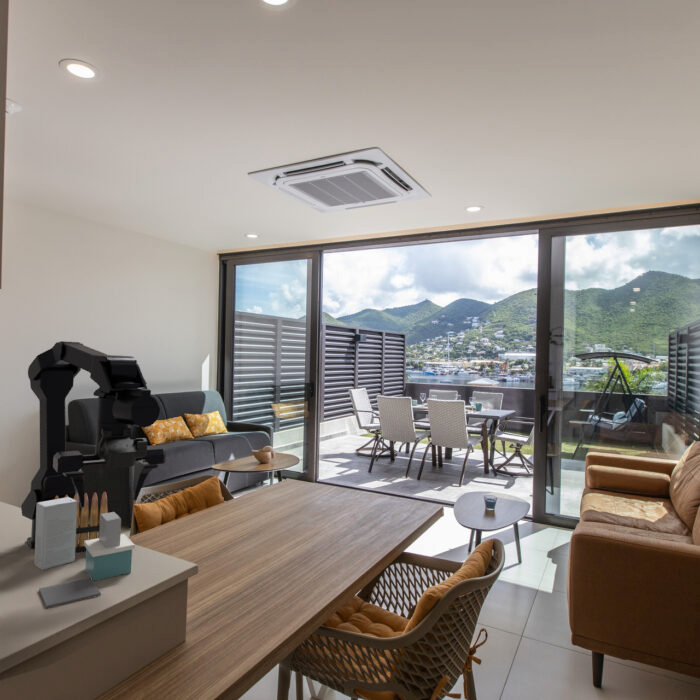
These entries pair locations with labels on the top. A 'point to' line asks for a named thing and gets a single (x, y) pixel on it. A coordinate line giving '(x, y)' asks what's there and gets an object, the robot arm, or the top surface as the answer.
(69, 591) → the mat
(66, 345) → the robot arm
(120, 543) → the lid
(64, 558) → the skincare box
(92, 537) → the ammunition clip
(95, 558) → the teal open box
